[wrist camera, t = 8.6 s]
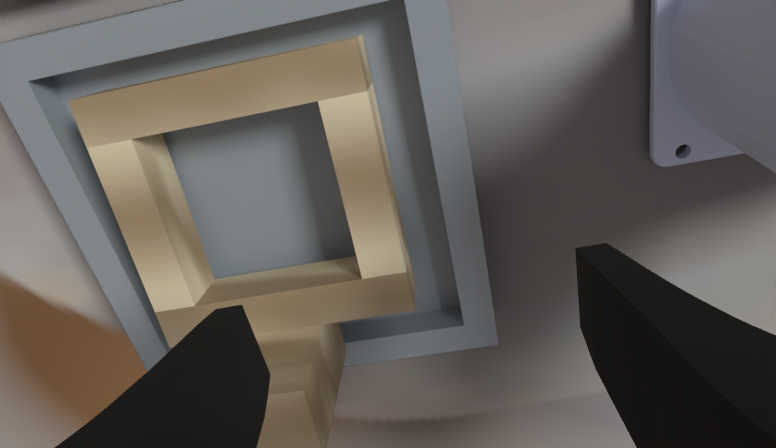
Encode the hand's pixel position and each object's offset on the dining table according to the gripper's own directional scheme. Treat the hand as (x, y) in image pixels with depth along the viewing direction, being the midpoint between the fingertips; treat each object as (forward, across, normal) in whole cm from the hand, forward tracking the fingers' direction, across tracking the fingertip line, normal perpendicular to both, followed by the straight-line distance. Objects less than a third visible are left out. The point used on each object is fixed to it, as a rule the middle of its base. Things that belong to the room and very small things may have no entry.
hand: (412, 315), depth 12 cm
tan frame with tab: (+8, +5, +1) cm, 10 cm away
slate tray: (+10, +5, 0) cm, 11 cm away
